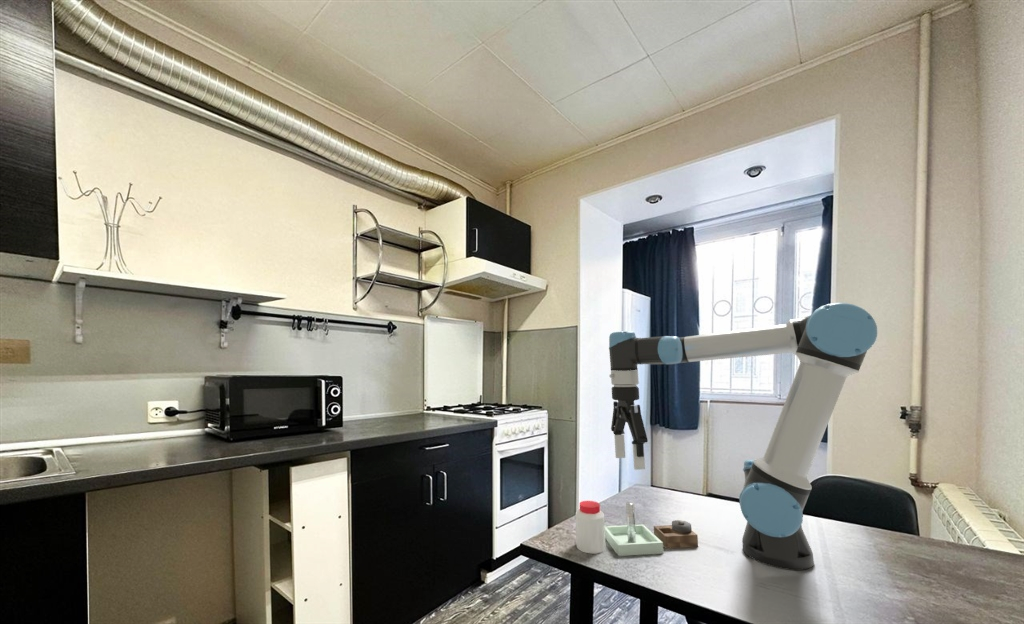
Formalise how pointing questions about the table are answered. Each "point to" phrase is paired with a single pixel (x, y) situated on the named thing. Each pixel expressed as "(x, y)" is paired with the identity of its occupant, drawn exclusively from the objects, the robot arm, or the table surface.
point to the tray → (643, 545)
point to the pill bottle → (590, 528)
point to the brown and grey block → (676, 535)
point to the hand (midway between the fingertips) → (629, 463)
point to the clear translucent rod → (631, 522)
